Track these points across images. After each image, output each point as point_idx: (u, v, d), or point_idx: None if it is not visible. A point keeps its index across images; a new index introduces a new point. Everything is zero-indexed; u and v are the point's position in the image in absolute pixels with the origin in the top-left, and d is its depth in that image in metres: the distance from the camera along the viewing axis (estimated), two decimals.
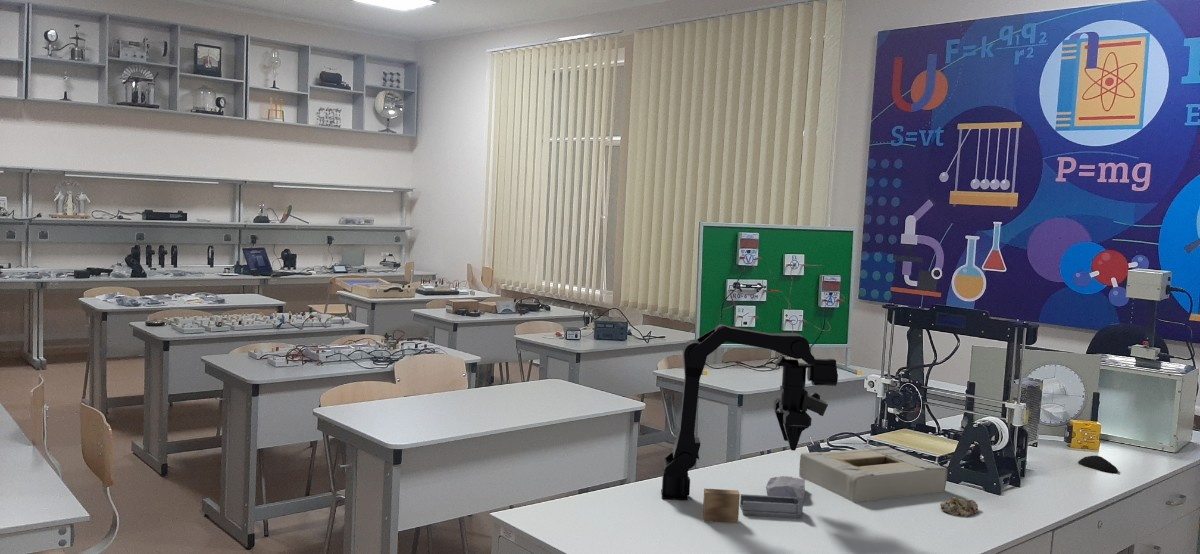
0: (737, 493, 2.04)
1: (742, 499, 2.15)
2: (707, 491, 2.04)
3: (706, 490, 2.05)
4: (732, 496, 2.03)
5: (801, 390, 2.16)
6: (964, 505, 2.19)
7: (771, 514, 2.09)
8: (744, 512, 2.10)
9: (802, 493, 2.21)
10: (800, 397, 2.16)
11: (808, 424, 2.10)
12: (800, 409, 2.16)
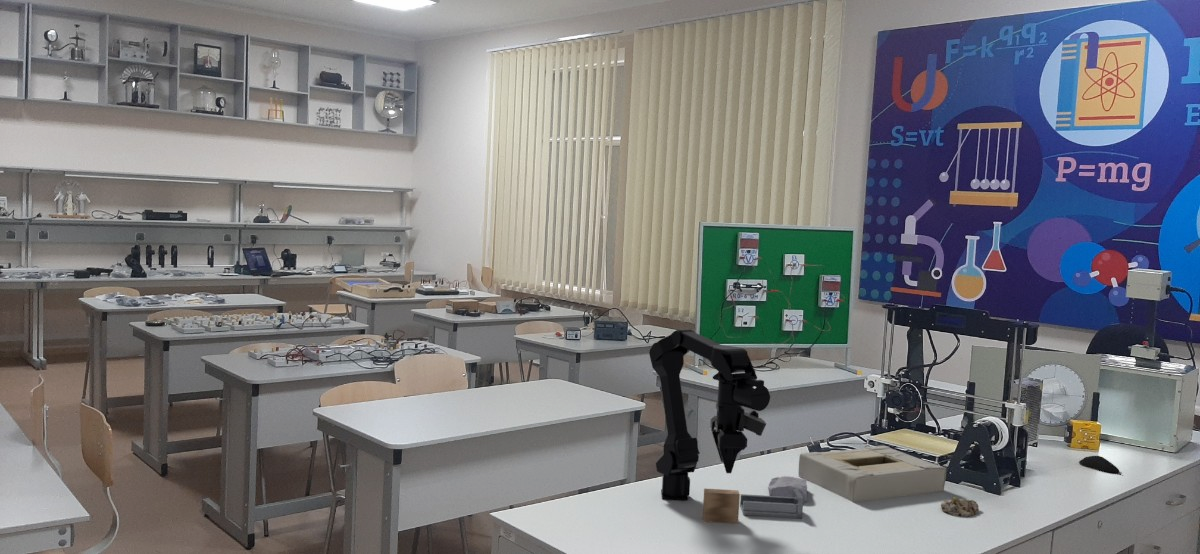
0: (737, 493, 2.04)
1: (742, 499, 2.15)
2: (707, 491, 2.04)
3: (706, 490, 2.05)
4: (732, 496, 2.03)
5: (737, 408, 2.02)
6: (965, 505, 2.19)
7: (771, 514, 2.09)
8: (744, 512, 2.10)
9: (804, 493, 2.21)
10: (736, 416, 2.02)
11: (744, 445, 1.95)
12: (736, 429, 2.02)
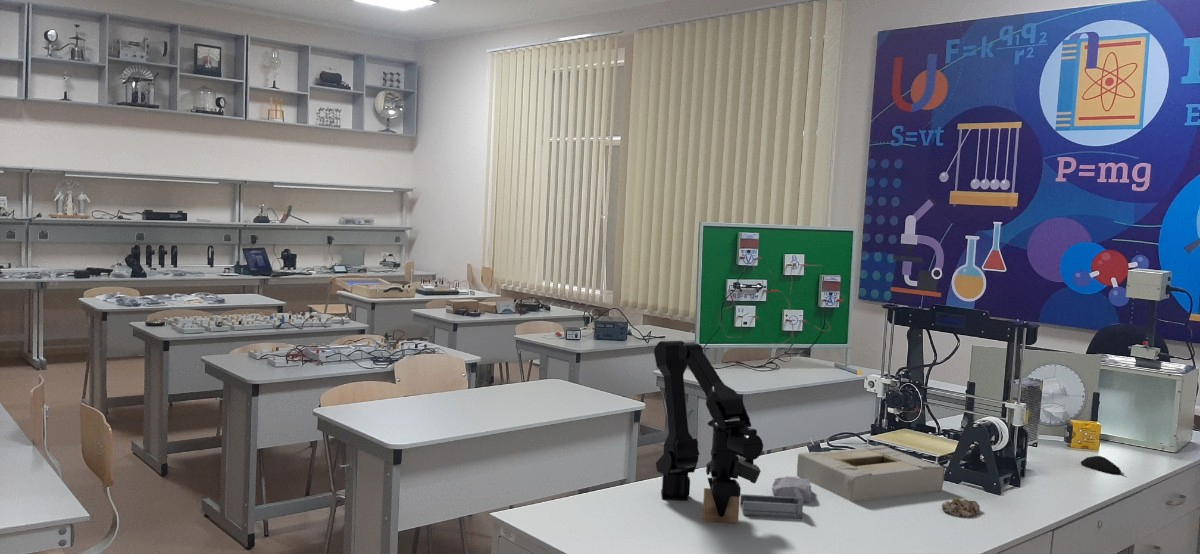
0: None
1: (742, 499, 2.15)
2: (707, 491, 2.04)
3: (706, 490, 2.05)
4: (732, 496, 2.03)
5: (731, 456, 2.02)
6: (966, 506, 2.18)
7: (771, 514, 2.09)
8: (744, 512, 2.10)
9: (809, 494, 2.21)
10: (730, 464, 2.02)
11: (737, 494, 1.95)
12: (731, 476, 2.02)
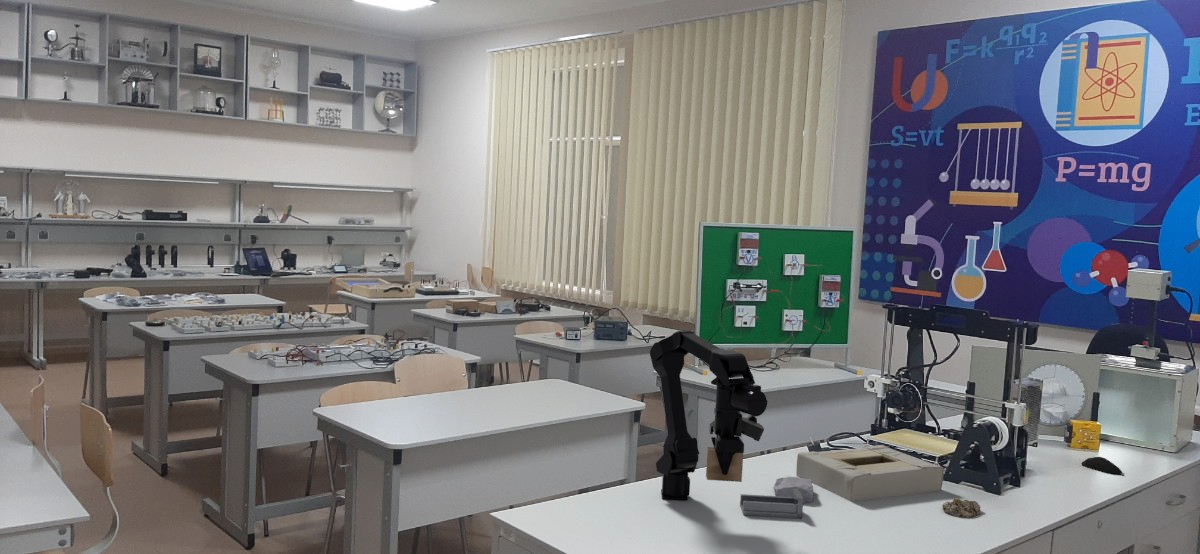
0: None
1: (742, 499, 2.15)
2: (711, 449, 2.04)
3: (709, 448, 2.04)
4: (736, 454, 2.03)
5: (735, 413, 2.01)
6: (966, 506, 2.18)
7: (771, 514, 2.09)
8: (744, 512, 2.10)
9: (811, 494, 2.21)
10: (734, 421, 2.01)
11: (740, 451, 1.95)
12: (734, 434, 2.02)
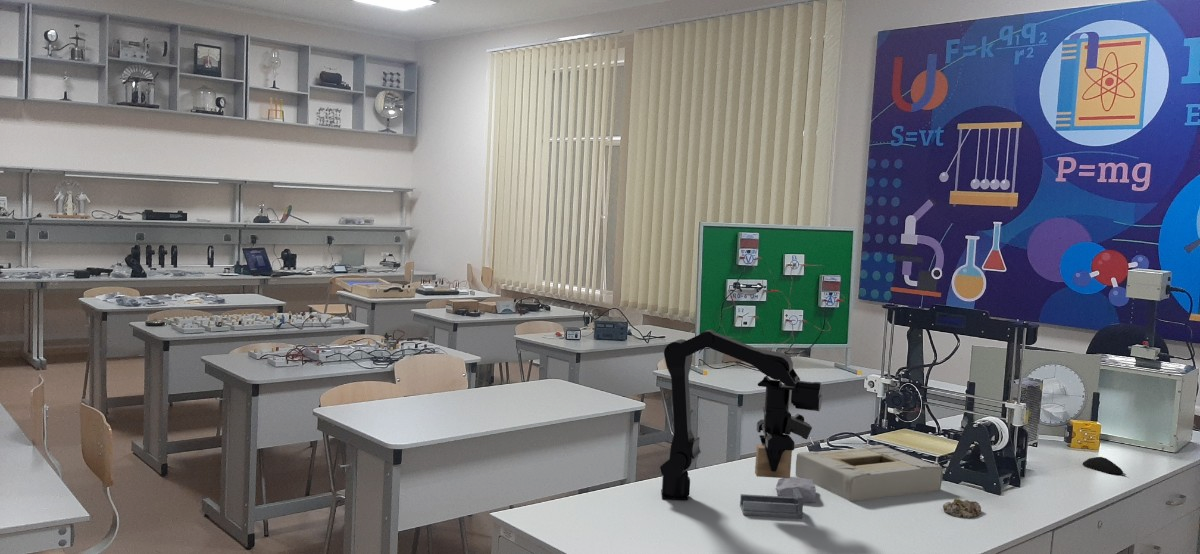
0: None
1: (742, 499, 2.15)
2: (760, 447, 2.11)
3: (759, 446, 2.12)
4: (784, 452, 2.10)
5: (784, 412, 2.09)
6: (967, 506, 2.18)
7: (771, 514, 2.09)
8: (744, 512, 2.10)
9: (813, 494, 2.21)
10: (783, 420, 2.09)
11: (791, 448, 2.02)
12: (783, 432, 2.09)
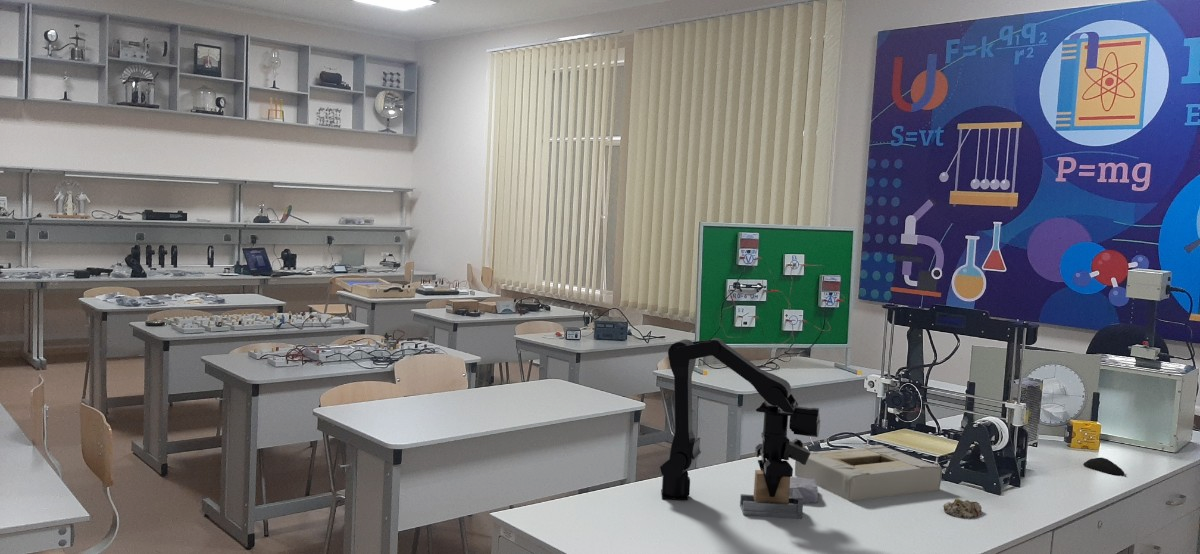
0: None
1: (742, 499, 2.15)
2: (759, 473, 2.11)
3: (757, 471, 2.12)
4: (783, 477, 2.11)
5: (783, 438, 2.09)
6: (967, 507, 2.18)
7: (771, 514, 2.09)
8: (744, 512, 2.10)
9: (815, 494, 2.21)
10: (781, 446, 2.09)
11: (789, 475, 2.03)
12: (782, 458, 2.09)
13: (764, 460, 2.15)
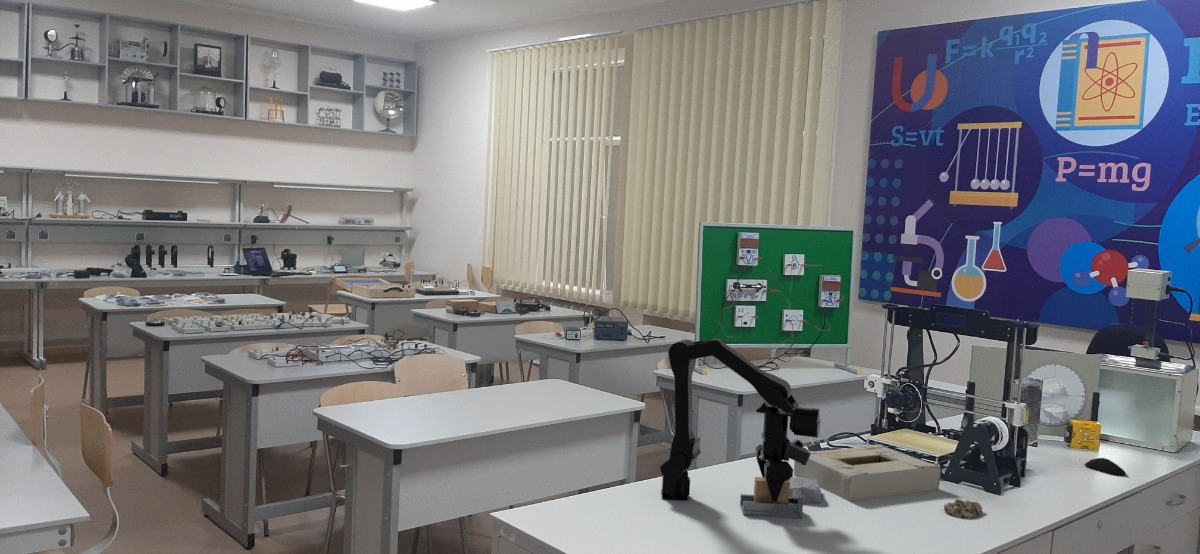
0: (787, 481, 2.11)
1: (742, 499, 2.15)
2: (758, 479, 2.12)
3: (757, 478, 2.13)
4: None
5: (783, 439, 2.09)
6: (968, 507, 2.18)
7: (771, 514, 2.09)
8: (744, 512, 2.10)
9: (819, 494, 2.21)
10: (782, 446, 2.09)
11: (789, 475, 2.03)
12: (782, 458, 2.09)
13: (762, 457, 2.18)
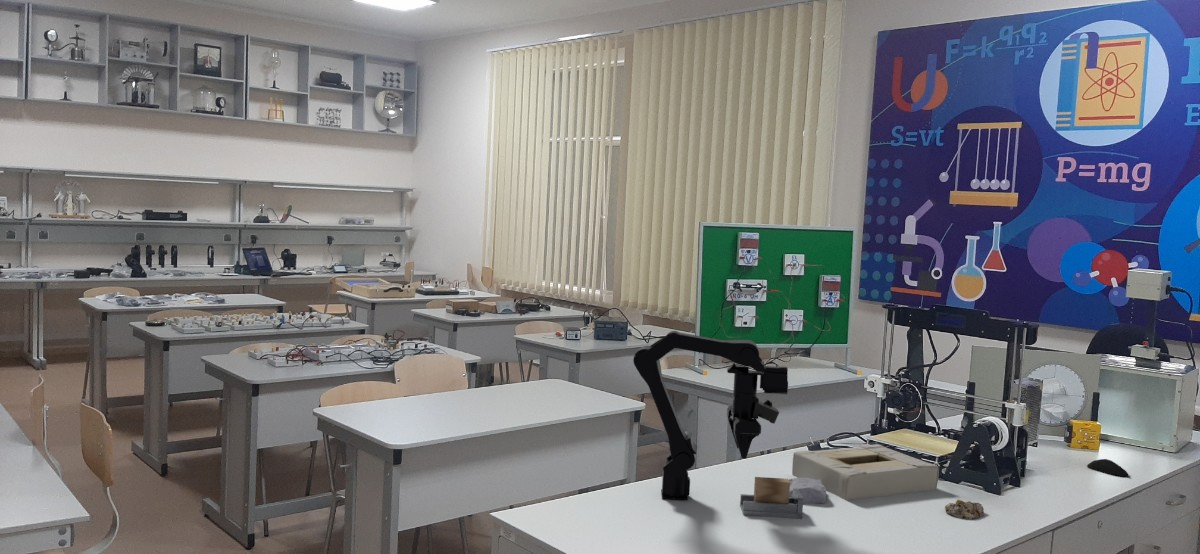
0: (787, 481, 2.11)
1: (742, 499, 2.15)
2: (758, 479, 2.12)
3: (757, 478, 2.13)
4: (782, 484, 2.11)
5: (752, 397, 2.15)
6: (969, 508, 2.17)
7: (771, 514, 2.09)
8: (744, 512, 2.10)
9: (824, 494, 2.21)
10: (751, 405, 2.15)
11: (758, 432, 2.08)
12: (751, 417, 2.15)
13: (733, 417, 2.23)
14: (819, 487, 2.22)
